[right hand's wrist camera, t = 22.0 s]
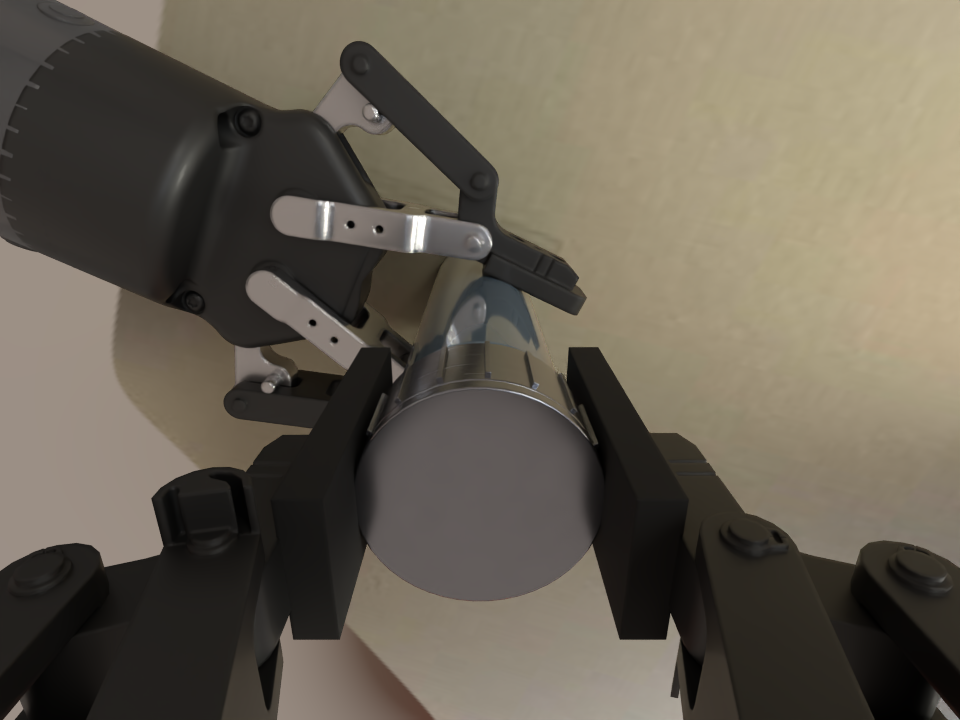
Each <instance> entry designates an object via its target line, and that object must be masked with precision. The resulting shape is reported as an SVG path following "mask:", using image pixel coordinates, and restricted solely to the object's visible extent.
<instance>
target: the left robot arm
mask: <svg viewBox="0 0 960 720" xmlns="http://www.w3.org/2000/svg"><path fill="white" fill-rule="evenodd" d="M340 68H341V71H342V73H341V75H340V76H339V77H338V79H337V80H336V81H335V83H334V84H333V85H332V87H331V88H330V89H329V91H328V92H327V93H326V95H325V96H324V97H323V99H322V100H321V101H320V103H319V104H318V105H317V107H316V108H315V109H314V111H313V112H311V111H308V110H302V109H297V110H278V109H275V108H273V107H270V106H268V105H266V104H264V103H262V102H260V101H258V100H256V99H254V98H252V97H250V96H247V95H245V94H243V93H241V92H239V91H237V90H235V89H233V88H231V87H229V86H227V85H225V84H223V83H221V82H219V81H217V80H215V79H213V78H211V77H209V76H207V75H205V74H203V73H201V72H199V71H197V70H195V69H193V68H191V67H189V66H187V65H185V64H183V63H181V62H179V61H177V60H175V59H173V58H171V57H169V56H167V55H165V54H163V53H161V52H159V51H157V50H155V49H153V48H151V47H149V46H147V45H145V44H143V43H141V42H139V41H137V40H135V39H133V38H131V37H129V36H127V35H124V34H122V33H120V32H118V31H116V30H114V29H112V28H110V27H108V26H106V25H104V24H102V23H100V22H98V21H96V20H94V19H92V18H90V17H88V16H86V15H85V14H83V13H81V12H79V11H77V10H75V9H73V8H70V7H68V6H66V5H64V4H62V3H60V2H58V1H56V0H0V236H1V237H2V238H3V239H5V240H6V241H7V242H9V243H11V244H13V245H15V246H18V247H21V248H23V249H27V250H30V251H35V252H39V253H41V254H44V255H46V256H48V257H51V258H53V259H55V260H58V261H60V262H63V263H65V264H67V265H70V266H72V267H74V268H77V269H79V270H81V271H84V272H86V273H88V274H91V275H93V276H96V277H98V278H100V279H102V280H105V281H107V282H110V283H112V284H114V285H117V286H119V287H121V288H124V289H126V290H128V291H131V292H133V293H136V294H138V295H140V296H143V297H145V298H147V299H150V300H152V301H154V302H157V303H159V304H162V305H165V306H168V307H171V308H175V309H179V310H183V311H186V312H189V313H193V314H195V315H198V316H200V317H201V318H203V319H204V320H206V321H207V322H208V323H209V324H211V325H212V326H213V327H214V328H215V329H216V330H217V331H218V333H219V334H220V335H221V336H222V337H223V338H224V339H225V340H227V341H228V342H230V343H231V344H234V345H235V385H234V387H233V388H232V389H231V390H230V391H229V392H228V393H227V394H226V396H225V397H224V407H225V409H226V411H227V412H228V413H229V414H230V415H231V416H233V417H235V418H238V419H243V420H251V421H259V422H267V423H274V424H282V425H290V426H298V427H305V428H313V427H314V426H315V424H316V422H317V421H318V419H319V417H320V416H321V414H322V412H323V411H324V409H325V407H326V406H327V404H328V402H329V401H330V399H331V397H332V396H333V394H334V392H335V390H336V389H337V387H338V385H339V384H340V382H341V380H342V379H343V377H344V376H342V375H334V374H327V373H319V372H312V371H304V370H298V368H297V366H296V364H295V363H294V361H293V360H291V359H289V358H287V357H283V356H280V355H278V354H276V353H275V352H274V351H273V350H272V348H271V347H270V345H275V344H281V343H287V342H293V341H298V340H304V339H307V340H308V341H310V342H311V343H312V344H313V345H315V346H316V347H317V348H319V349H320V350H321V351H322V352H324V353H325V354H326V355H328V356H329V357H330V358H331V359H333V360H334V361H335V362H337V363H338V364H339V365H340V366H342V367H343V368H345V369H346V370H348V369H349V367H350V365H351V364H352V362H353V360H354V359H355V357H356V355H357V354H358V352H359V350H360V349H361V347H391V361H392V377H393V383H394V381H395V380H396V379H397V378H398V377H399V376H400V375H401V374H402V373H403V372H404V369H405V366H406V363H407V360H408V358H409V355H410V352H411V349H412V345H411V344H410V343H408V342H407V341H406V340H405V339H404V338H402V337H401V336H400V335H399V334H397V333H396V332H395V331H394V330H393V329H392V328H391V327H390V326H389V325H388V322H387V321H386V319H385V318H384V317H383V316H382V315H381V314H380V313H378V312H377V311H376V310H375V309H374V308H372V307H371V306H370V305H369V304H368V303H366V300H367V297H368V295H369V292H370V287H371V278H372V271H373V269H374V268H375V266H376V265H377V264H378V263H379V261H380V260H381V259H382V258H383V256H384V255H385V254H386V252H387V250H391V251H397V252H404V253H428V254H434V255H441V256H447V257H453V258H459V259H465V260H472V261H475V260H476V261H478V262H480V263H482V264H483V273H485V274H488V275H490V276H492V277H494V278H496V279H498V280H500V281H503V282H505V283H507V284H509V285H511V286H513V287H515V288H517V289H519V290H521V291H523V292H525V293H528V294H530V295H532V296H534V297H536V298H538V299H540V300H542V301H544V302H546V303H549V304H551V305H553V306H555V307H557V308H559V309H561V310H563V311H565V312H567V313H570V314H572V315H577V314H578V313H579V311H580V309H581V307H582V306H583V304H584V302H585V300H586V298H587V297H586V296H585V294H584V293H583V292H582V290H581V289H580V288H579V287H578V286H576V285H575V284H576V282H577V281H578V279H579V277H578V276H577V274H576V273H575V272H574V271H573V269H572V268H571V267H570V266H569V265H568V264H567V262H566V261H565V260H564V259H563V258H561V257H559V256H557V255H555V254H553V253H551V252H549V251H547V250H545V249H543V248H541V247H538V246H537V245H535V244H533V243H531V242H529V241H527V240H524V239H522V238H520V237H518V236H516V235H514V234H512V233H510V232H508V231H506V230H505V229H503V228H502V227H501V226H500V225H499V224H498V222H497V221H496V219H495V207H496V197H497V188H498V184H499V178H498V174H497V172H496V170H495V168H494V167H493V166H492V165H491V164H490V163H489V162H488V161H487V160H486V159H485V158H484V157H483V156H482V155H481V154H480V153H479V152H478V151H477V150H476V149H475V148H474V147H473V146H472V145H471V144H470V143H469V142H468V141H467V140H466V139H465V138H464V137H463V136H462V135H461V134H460V133H459V132H458V131H457V130H456V129H455V128H454V127H453V126H452V125H451V124H450V123H449V122H448V121H447V120H446V119H445V118H444V117H443V116H442V115H441V114H440V113H439V112H438V111H437V110H436V109H435V108H434V107H433V106H432V105H431V104H430V103H429V102H428V101H427V100H426V99H425V98H424V97H423V96H422V95H421V94H420V93H419V92H418V91H417V90H416V89H415V88H414V87H413V86H412V85H411V84H410V83H409V82H408V81H407V80H406V79H405V78H404V77H403V76H402V75H401V74H400V73H399V72H398V71H397V70H396V69H395V68H394V67H393V66H392V65H391V64H390V63H389V62H388V61H387V60H386V59H385V58H384V57H383V56H382V55H381V54H380V53H379V52H378V51H377V50H376V49H375V48H373V47H372V46H371V45H370V44H368V43H366V42H362V41H356V42H352V43H350V44H349V45H347V46H346V47H345V48H344V50H343V52H342V54H341V57H340ZM353 126H358V127H360V128H362V129H363V130H364V131H366V132H368V133H370V134H375V135H385V134H388V133H390V132H391V131H392V130H393V129H394V128H395V127H396V128H397V129H398V130H399V131H400V132H401V133H402V134H403V135H404V136H405V137H406V138H407V139H408V140H409V141H410V142H411V143H412V144H413V145H414V146H415V147H416V148H417V149H419V150H420V151H421V152H422V153H423V154H424V155H425V156H426V157H427V158H428V159H429V160H430V161H431V162H432V163H433V164H434V165H435V166H436V167H437V168H438V169H439V170H440V171H441V172H442V173H443V174H444V175H446V176H447V177H448V178H449V179H450V180H451V181H452V182H453V183H454V184H455V185H456V186H457V187H458V188H459V189H460V197H459V209H458V212H454V211H448V210H442V209H436V208H431V207H429V206H425V205H421V204H415V203H409V202H403V201H397V200H391V199H385V198H380V196H379V194H378V193H377V191H376V189H375V187H374V186H373V184H372V182H371V181H370V179H369V177H368V175H367V174H366V172H365V170H364V169H363V167H362V165H361V163H360V162H359V160H358V158H357V157H356V155H355V153H354V151H353V150H352V148H351V146H350V144H349V143H348V141H347V139H346V138H345V136H344V134H343V132H344V131H345V130H347V129H348V128H350V127H353ZM335 337H336V338H335Z"/></svg>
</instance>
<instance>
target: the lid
mask: <svg viewBox="0 0 960 720" xmlns="http://www.w3.org/2000/svg"><path fill="white" fill-rule="evenodd" d="M365 435H367V436H368V438H367V441H366V443H365V446H364V448H363V451H362V453H361V456H360V459H359V461H358V464H357V467H356V471H355V476H354V486H355V497H356V507H357V517H358V526H359V528H360V531H361V533H362V535H363V537H364V539H365V541H366V542H367V544H368V546H369V547H370V549H371V550H372V551H373V553H374V554H375V555H376V556H377V558H378V559H379V560H380V561H381V562H382V563H383V564H384V565H385V566H386V567H387V568H388V569H389V570H391V571H392V572H393V573H395V574H396V575H397V576H399V577H400V578H401V579H403V580H405V581H406V582H408V583H410V584H412V585H413V586H415V587H418V588H420V589H422V590H425V591H427V592H429V593H433V594H436V595H439V596H442V597H447V598H452V599H457V600H466V601H493V600H502V599H508V598H512V597H517V596H521V595H524V594H527V593H530V592H533V591H535V590H537V589H539V588H542V587H544V586H546V585H548V584H550V583H551V582H553V581H555V580H556V579H558V578H559V577H561V576H562V575H563V574H565V573H566V572H567V571H569V570H570V569H571V568H572V567H573V566H574V565H575V564H576V563H577V562H578V561H579V560H580V559H581V558H582V557H583V556H584V554H585V553H586V552H587V551H588V549H589V548H590V546H591V545H592V543H593V541H594V540H595V538H596V536H597V534H598V532H599V529H600V527H601V521H602V511H603V501H604V491H605V474H604V469H603V465H602V463H601V460H600V458H599V455H598V453H597V450H596V449H597V448H600V445H599V443H598V440H597V438H596V435H595V433H594V430H593V428H592V425H591V423H590V420H589V418H588V415H587V413H586V410H585V408H584V406H583V404H582V405H579V404H578V401H577V399H576V397H575V396H574V394H573V392H572V390H571V389H570V387H569V386H568V385H567V382H566V379H565V377H564V375H563V374H562V373H560V374H558V373H557V372H555V371H554V370H553V369H552V368H551V367H550V366H548V365H547V364H545V363H544V362H543V361H541V360H540V359H538V358H536V357H534V356H532V354H531V352H529V351H526V352H523V351H521V350H518V349H515V348H512V347H508V346H503V345H498V344H490V341H485V342H484V343H470V344H462V345H456V346H452V347H448V348H447V346H443V347H442V349H441V350H439V351H436V352H434V353H431V354H429V355H427V356H425V357H424V358H422V359H420V360H418V361H417V362H415V363H414V364H413V365H410V364H408V365H407V366H405V369H404V372H403V373H402V374H401V375H400V376H399V377H398V378H397V379H396V380H395V381H394V383H393V384H392V385H391V387H390V388H389V389H388V391H387V393H386V394H384V393H382V394H381V396H380V398H379V401H378V403H377V406H376V408H375V411H374V413H373V416H372V418H371V421H370V423H369V425H368V428H367V430H366V433H365Z"/></svg>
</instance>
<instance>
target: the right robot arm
mask: <svg viewBox="0 0 960 720" xmlns="http://www.w3.org/2000/svg"><path fill="white" fill-rule="evenodd" d="M392 384H393V377H392V361H391V347H361V349H360V350H359V352H358V354H357V355H356V357H355V359H354V360H353V362H352V364H351V365H350V367H349V369H348V370H347V372H346V374H345V375H344V377H343V379H342V380H341V382H340V384H339V385H338V387H337V389H336V390H335V392H334V394H333V396H332V397H331V399H330V401H329V402H328V404H327V406H326V407H325V409H324V411H323V412H322V414H321V416H320V417H319V419H318V421H317V422H316V424H315V426H314V427H313V429H312V431H311V432H310V434H309V435H282V436H280V437H279V438H277V439H276V440H274V441H273V442H271V443H270V444H268V445H267V446H265V447H264V448H263V449H262V451H261V452H260V454H259V455H258V456H257V458H256V459H255V460H254V462H253V465H251V466H250V467H249V469H248V470H247V472H245V471H243V470H240V469H236V468H231V467H212V468H207V469H203V470H198V471H193V472H191V473H188V474H186V475H183V476H180V477H178V478H176V479H174V480H172V481H171V482H169V483H168V484H166V485H164V486H163V487H161V488H160V489H159V490H158V492H157V493H156V494H155V495H154V496H153V497H152V503H153V507H154V511H155V515H156V518H157V522H158V526H159V530H160V534H161V538H162V542H163V546H164V547H163V549H162V552H161V554H160V555H157V556H153V557H150V558H146V559H141V560H137V561H132V562H127V563H123V564H118V565H113V566H108V567H104V565H103V562H102V559H101V556H100V552H98V551H97V550H96V549H95V548H94V547H92V546H91V545H85V544H79V543H73V544H64V545H56V546H52V547H48V548H46V549H41V550H38V551H35V552H33V553H31V554H29V555H27V556H25V557H23V558H21V559H19V560H17V561H15V562H13V563H11V564H10V565H8V566H7V567H5V568H4V569H3V570H1V571H0V720H3V719H4V718H5V717H6V716H7V714H8V713H9V712H10V711H11V709H12V708H13V707H14V706H15V705H16V704H17V702H18V701H19V700H20V702H21V704H22V706H23V711H22V712H21V713H20V714H19V715H18V717H17V718H16V719H15V720H277V713H278V704H279V695H280V687H281V678H282V669H283V656H282V649H281V643H280V636H281V633H282V631H283V628H284V626H285V624H286V621H287V619H288V616H290V622H291V628H292V634H293V639H294V640H327V639H328V640H332V639H333V640H336V639H337V640H338V639H340V636H341V633H342V629H343V626H344V622H345V619H346V615H347V612H348V608H349V605H350V601H351V598H352V594H353V591H354V587H355V584H356V580H357V577H358V573H359V570H360V566H361V563H362V559H363V556H364V552H365V549H366V545H367V542H366V541H365V539H364V537H363V535H362V533H361V531H360V528H359V526H358V517H357V507H356V497H355V486H354V476H355V471H356V467H357V464H358V461H359V459H360V456H361V453H362V451H363V448H364V446H365V443H366V441H367V438H368V436H367V435H365V433H366V430H367V428H368V425H369V423H370V421H371V418H372V416H373V413H374V411H375V408H376V406H377V403H378V401H379V398H380V396H381V394H382V393H384V394H386V393H387V391H388V389H389V388H390V387H391V385H392ZM567 385H568V386H569V387H570V389H571V390H572V392H573V394H574V396H575V397H576V399H577V401H578V404H579V405H582V404H583V406H584V408H585V410H586V413H587V415H588V418H589V420H590V423H591V425H592V428H593V430H594V433H595V435H596V438H597V440H598V443H599V445H600V448H597V449H596V450H597V453H598V455H599V458H600V460H601V463H602V465H603V469H604V474H605V491H604V501H603V511H602V521H601V527H600V529H599V532H598V534H597V536H596V538H595V540H594V541H593V543H592V544H593V547H594V551H595V554H596V558H597V561H598V565H599V568H600V572H601V575H602V579H603V582H604V586H605V589H606V593H607V596H608V600H609V603H610V607H611V610H612V614H613V617H614V621H615V624H616V628H617V631H618V635H619V638H620V640H666V637H667V631H668V625H669V619H670V613H671V615H672V617H673V620H674V622H675V625H676V627H677V630H678V632H679V634H680V637H681V638H680V643H679V649H678V655H677V660H676V666H675V672H674V677H673V683H672V690H671V697H675V698H678V695H679V690H680V694H681V703H682V712H683V720H947V719H946V718H945V716H944V715H943V714H942V713H941V711H940V710H939V709H938V708H937V704H938V702H939V700H940V697H941V698H942V699H943V700H944V701H945V703H946V704H947V705H948V706H949V707H950V709H951V710H952V711H953V712H954V713H955V714H956V716H957V717H958V718H959V719H960V568H959V567H957V566H956V565H954V564H953V563H951V562H950V561H949V560H947V559H945V558H943V557H941V556H938V555H936V554H934V553H932V552H930V551H929V550H927V549H924V548H921V547H918V546H914V545H911V544H906V543H901V542H892V541H878V542H871V543H868V544H867V545H866V546H864V547H863V548H862V549H861V550H860V553H859V556H858V560H857V563H856V565H854V564H849V563H844V562H839V561H835V560H830V559H825V558H820V557H816V556H811V555H808V554H804V553H801V552H799V550H798V548H797V546H796V545H795V543H794V542H793V541H792V539H791V538H790V537H789V535H788V534H787V533H785V532H784V531H783V530H781V529H780V528H779V527H777V526H776V525H775V524H773V523H771V522H768V521H766V520H764V519H762V518H759V517H757V516H754V515H750V514H745V512H744V511H743V510H742V508H741V507H740V506H739V504H738V503H737V501H736V500H735V499H734V497H733V496H732V495H731V493H730V492H729V491H728V489H727V488H726V486H725V485H724V484H723V482H722V481H721V480H720V478H719V477H718V476H716V475H715V471H714V470H713V469H712V467H711V466H710V464H709V463H707V462H706V459H705V458H704V456H703V455H702V453H701V452H700V451H699V449H698V448H697V447H696V445H694V444H693V443H691V442H689V441H688V440H686V439H685V438H683V437H682V436H680V435H679V434H677V433H649V432H648V430H647V428H646V427H645V425H644V423H643V422H642V420H641V418H640V417H639V415H638V413H637V412H636V410H635V408H634V407H633V405H632V403H631V402H630V400H629V398H628V396H627V395H626V393H625V391H624V390H623V388H622V386H621V385H620V383H619V381H618V380H617V378H616V376H615V375H614V373H613V371H612V370H611V368H610V366H609V365H608V363H607V361H606V360H605V358H604V356H603V355H602V353H601V351H600V350H599V348H598V347H569V352H568V368H567Z"/></svg>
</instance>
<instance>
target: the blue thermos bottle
mask: <svg viewBox="0 0 960 720" xmlns="http://www.w3.org/2000/svg"><path fill="white" fill-rule="evenodd" d="M485 341H490V344H498V345H503V346H508V347H512V348H515V349H518V350H521V351H523V352H526V351H529V352H531V354H532V356H534V357H536V358H538V359H540V360H541V361H543V362H544V363H545V364H547V365H548V366H550V367H551V368H552V369H553V370H554V371H555V368H554V365H553V362H552V359H551V356H550V353H549V350H548V347H547V344H546V342H545V339H544V336H543V333H542V330H541V327H540V324H539V321H538V318H537V315H536V312H535V309H534V306H533V304H532V301H531V298H530V295H529V294H528V293H525V292H523V291H521V290H519V289H517V288H515V287H513V286H511V285H509V284H507V283H505V282H503V281H500V280H498V279H496V278H494V277H492V276H490V275H488V274H485V273H483V264H482V263H480V262H478V261H476V260H475V261H472V260H465V259H459V258H453V257H447V258H446V259H445V260H444V261H443V263H442V265H441V266H440V268H439V271H438V273H437V276H436V279H435V282H434V285H433V288H432V291H431V294H430V297H429V300H428V302H427V305H426V308H425V311H424V314H423V317H422V320H421V323H420V326H419V329H418V331H417V334H416V337H415V340H414V343H413V346H412V349H411V352H410V355H409V358H408V360H407V363H406V366H407V365H408V364H410V365H413V364H414V363H415V362H417V361H418V360H420V359H422V358H424V357H425V356H427V355H429V354H431V353H434V352H436V351H439V350H441V349H442V347H443V346H447V348H448V347H452V346H456V345H462V344H470V343H484V342H485ZM555 372H556V371H555Z"/></svg>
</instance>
